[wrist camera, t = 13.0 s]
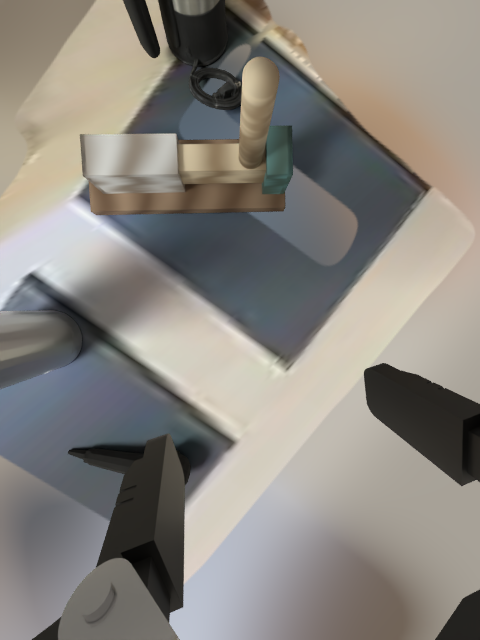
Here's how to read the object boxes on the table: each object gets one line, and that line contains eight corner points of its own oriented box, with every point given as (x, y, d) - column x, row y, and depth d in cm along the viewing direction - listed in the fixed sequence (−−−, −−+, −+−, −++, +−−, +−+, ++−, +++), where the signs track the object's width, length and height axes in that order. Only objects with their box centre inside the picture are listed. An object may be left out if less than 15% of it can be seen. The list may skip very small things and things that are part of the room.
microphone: (84, 449, 43) (194, 470, 41) (57, 480, 37) (183, 506, 36) (80, 425, 41) (195, 446, 39) (50, 454, 35) (183, 480, 34)
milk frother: (188, -12, 36) (159, -232, 21) (276, 54, 37) (306, -114, 22) (137, 72, 36) (73, -88, 22) (225, 134, 37) (221, 22, 23)
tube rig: (96, 215, 37) (65, 194, 30) (92, 147, 37) (59, 110, 30) (283, 211, 38) (294, 190, 31) (281, 145, 38) (293, 109, 31)
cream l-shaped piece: (155, 184, 35) (100, 98, 21) (153, 160, 35) (98, 55, 20) (278, 182, 36) (310, 97, 21) (277, 158, 36) (310, 55, 21)
